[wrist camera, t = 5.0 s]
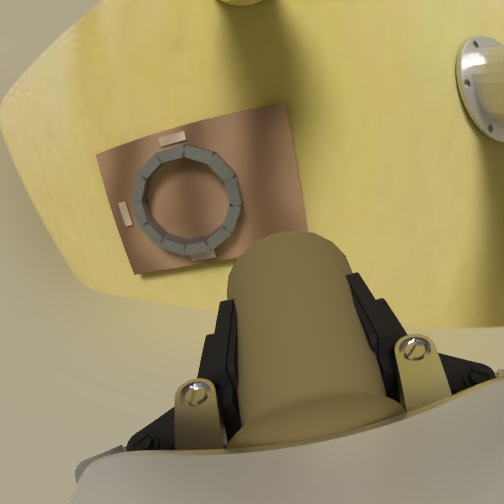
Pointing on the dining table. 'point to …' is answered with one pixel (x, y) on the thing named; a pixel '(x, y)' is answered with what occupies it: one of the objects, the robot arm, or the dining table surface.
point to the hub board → (208, 186)
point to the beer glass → (241, 2)
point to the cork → (301, 344)
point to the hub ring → (155, 229)
